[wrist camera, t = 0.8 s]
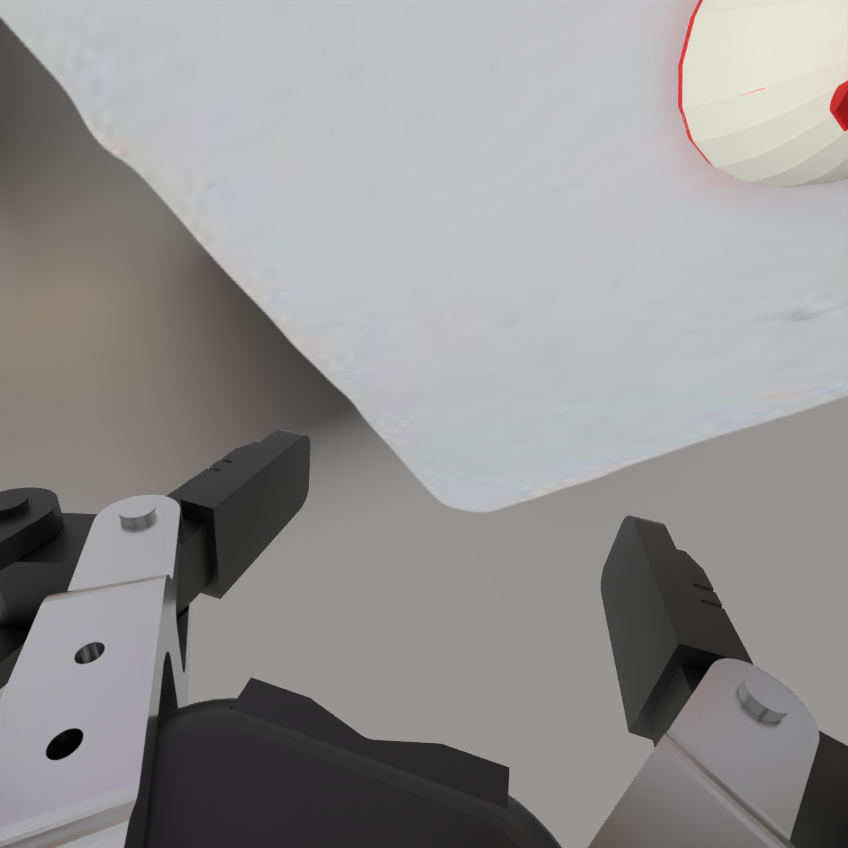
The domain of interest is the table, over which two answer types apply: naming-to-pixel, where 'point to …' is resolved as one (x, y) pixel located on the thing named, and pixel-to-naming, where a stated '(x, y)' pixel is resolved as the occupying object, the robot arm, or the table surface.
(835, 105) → the kitchen timer
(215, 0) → the table surface
